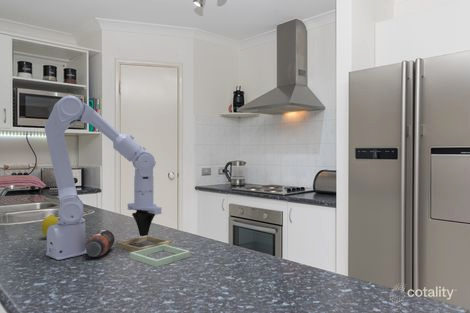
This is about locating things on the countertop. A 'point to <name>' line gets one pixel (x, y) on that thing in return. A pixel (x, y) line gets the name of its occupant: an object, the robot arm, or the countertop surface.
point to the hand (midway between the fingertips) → (143, 235)
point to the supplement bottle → (99, 243)
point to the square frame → (178, 256)
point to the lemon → (48, 223)
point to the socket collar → (127, 246)
